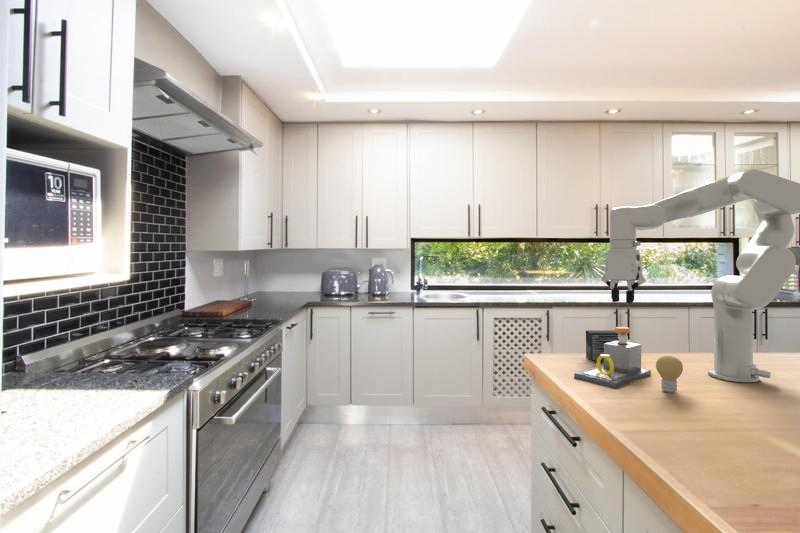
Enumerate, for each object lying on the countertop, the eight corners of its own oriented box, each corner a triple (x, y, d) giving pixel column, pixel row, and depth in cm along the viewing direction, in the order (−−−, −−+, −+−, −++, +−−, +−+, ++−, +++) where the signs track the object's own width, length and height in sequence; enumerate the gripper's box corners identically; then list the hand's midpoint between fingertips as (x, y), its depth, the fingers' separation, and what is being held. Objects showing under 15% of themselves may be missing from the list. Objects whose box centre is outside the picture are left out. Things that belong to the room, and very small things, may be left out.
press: (650, 374, 135) (651, 345, 135) (615, 388, 122) (615, 355, 122) (610, 366, 146) (610, 338, 145) (574, 377, 133) (574, 347, 132)
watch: (594, 372, 133) (593, 353, 133) (601, 371, 134) (600, 352, 134) (609, 376, 127) (608, 356, 128) (616, 375, 128) (615, 355, 128)
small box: (614, 357, 158) (614, 329, 157) (622, 362, 151) (622, 332, 151) (585, 357, 159) (585, 329, 158) (591, 361, 152) (591, 332, 152)
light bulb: (674, 396, 115) (674, 359, 114) (650, 389, 120) (651, 355, 120) (687, 392, 117) (687, 357, 117) (664, 386, 123) (664, 352, 123)
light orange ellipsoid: (632, 351, 137) (632, 328, 136) (626, 353, 134) (626, 329, 134) (619, 349, 140) (619, 326, 140) (612, 351, 138) (612, 327, 137)
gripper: (655, 245, 132) (655, 303, 132) (603, 246, 145) (603, 299, 146) (644, 244, 127) (644, 305, 128) (591, 246, 141) (591, 301, 141)
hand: (622, 301), depth 137 cm, fingers open, 3 cm apart
